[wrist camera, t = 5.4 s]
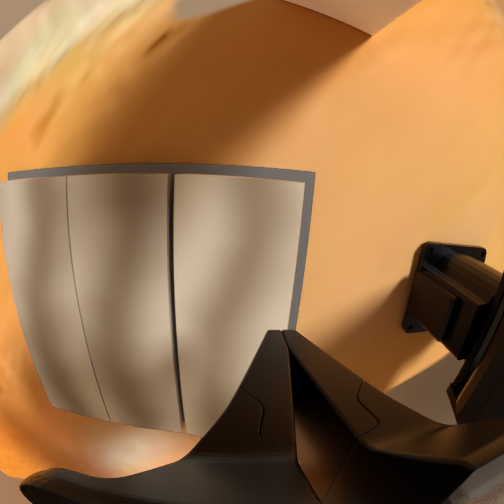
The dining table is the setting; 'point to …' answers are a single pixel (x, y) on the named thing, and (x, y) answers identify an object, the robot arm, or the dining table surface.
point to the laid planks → (97, 292)
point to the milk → (360, 11)
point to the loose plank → (229, 281)
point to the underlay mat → (209, 170)
